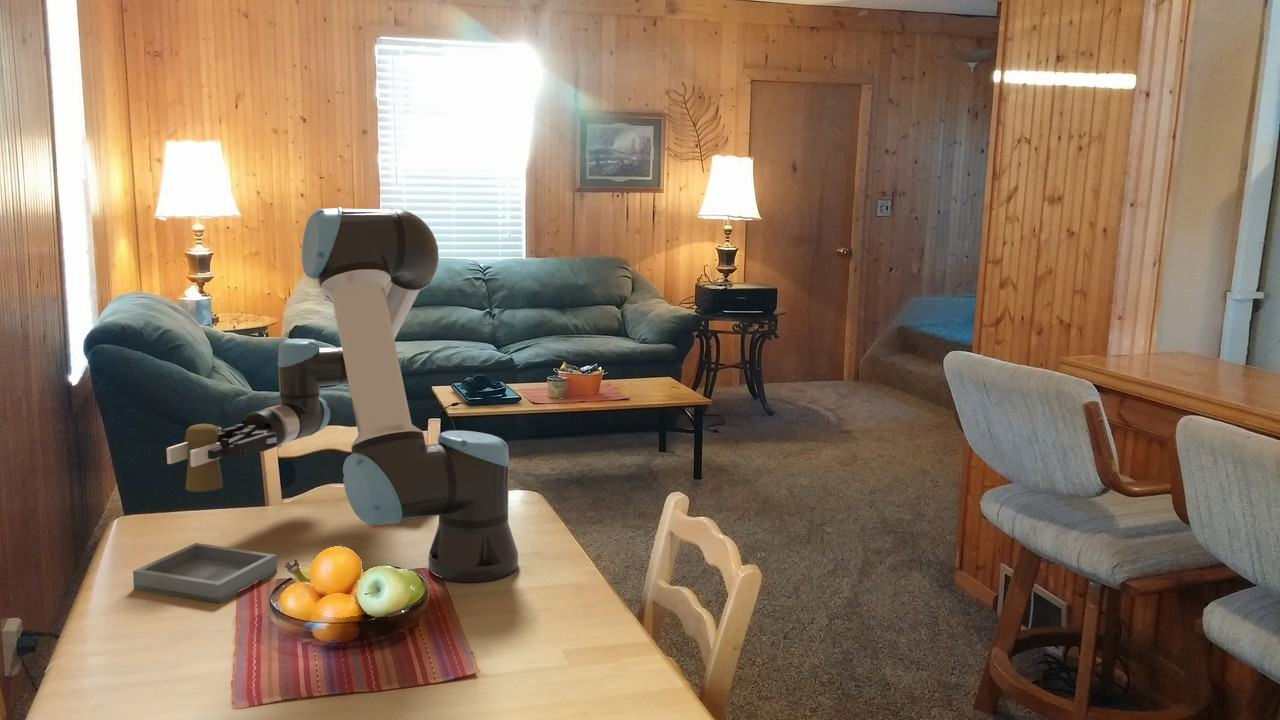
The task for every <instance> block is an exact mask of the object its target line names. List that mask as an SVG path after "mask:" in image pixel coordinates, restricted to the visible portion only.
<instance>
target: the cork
mask: <svg viewBox="0 0 1280 720" xmlns="http://www.w3.org/2000/svg"><path fill="white" fill-rule="evenodd" d="M216 426H217V425H214V424H212V423H197V424H194V425H190V426H189V427H187V429H186V433H185V437H186V440H187V442H188V443H189V444H190V449H189V458H188V459H187V460H188V461H187V469H186V470H187V471H186V479H185V480H186V481H185V490H186V491H188V492H194V493H195V492H196V493H197V492H198V493H199V492H210V491H216V490H219V489H221V488H223V486H224V482H223V477H222V472H221V465H220V460H219V459H216V460H213V461H210V462H207V463H204V464H202V465H199V466H196V467H191V462H190V451H191V450H194V449H197V448H200V447H203V446H207V445H210V444H213V443H216V441H217V440H218V429H217V428H216Z"/></svg>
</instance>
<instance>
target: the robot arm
mask: <svg viewBox="0 0 1280 720" xmlns="http://www.w3.org/2000/svg"><path fill="white" fill-rule="evenodd" d="M438 246H439V245H438V244H437V239H436V237H435V235H434V233H433V232H432V230H431V227H429V226H428V224H427V223H426V222H425V221H424V220H423V219H422V218H420V217H418V215H415V214H414V213H412V212H411V211H407V210H403V209H399V208H389V209H388V208H386V209H385V208H349V207H348V208H347V207H346V208H344V207H343V208H342V207H341V206H338V207H333V208H319V209H317V210H315V211H313V213H311V215H310V216H309V217H308V220H307V222H306V224H305V228H304V233H303V236H302V247H301V259H302V260H301V261H302V262H301V263H302V268H303V271H304V273H305V275H306V277H307V278H310V279H312V280H317V279H318V281H319V287H320V292H321V293H322V294H324V295H325V296H326V297H328V298H329V299H331V300H332V304H333V309H334V310H333V311H334V315H335V319H336V326H337V331H338V336H339V340H340V341H339V342H340V346H339V347H337V346H336V347H320V345H319V342H318V341H317V340H315V339H311V338H291V339H289V338H288V339H284V340H283V341H281V342H280V344H279V345H278V358H277V359H278V361H277V366H278V368H277V369H278V383H279V386H278V389H279V404H276V405H274V406H270V407H266V408H264V409H260V410H258V411H257V410H256V411H254V412H251V413H249V414H247V415H246V416H244V418H243V419H242V421H241V422H240V423H239V424H234V425H233V426H230V427H227V428H221V426H220V425H215V426H216V428H217V429H218V440H217V441H216V443H213V444H210V445H207V446H203V447H200V448H197V449H194V450H191V451H190V462H191V467H196V466H199V465H202V464H204V463H207V462H210V461H213V460H216V459H218V460H219V459H221V458H226V459H227V458H230V457H231V456H233V458H236V459H238V458H241V457H245V456H249V455H250V454H253V453H263V452H266V451H268V450H272V449H275V448H276V447H277V448H282V445H285V444H287V443H290V442H293V441H296V440H298V439H303V438H305V437H306V438H307V437H310V436H312V435H314V434H317V433H318V432H320V431H321V430H324V429H325V428H326V427H327V425H328V424H329V422H330V419H331V409H330V408H329V406H328V403H327V401H326V400H325V399H324V398H322V397H321V396H320V387H324V386H325V387H326V386H335V385H345V384H346V385H348V387H349V393H350V398H351V403H352V408H353V414H354V419H355V424H356V430H357V437H356V438H355V440H354V441H353V442H352V444H351V446H350V449H351V454H349V456H347V457H346V458H345V459H344V463H343V465H342V473H343V475H344V476H343V478H342V480H343V486H344V487H343V488H344V491H345V494H346V497H347V500H348V502H349V504H350V506H351V508H352V510H353V512H354V514H355V515H356V516H357V517H358V518H359V519H360V520H361V521H362V522H363V523H365V524H366V525H370V526H381V525H396V524H399V523H401V522H406V521H411V520H412V521H413V520H417V519H418V520H419V519H423V518H424V519H425V518H431V517H436V516H438V525H437V529H436V531H435V534H434V538H433V540H432V542H431V543H432V544H431V547H430V550H429V553H428V568H427V569H428V570H429V569H430V570H431V571H432V572H434V573H435V574H437V575H439V576H441V577H442V578H443V579H442V578H441V579H442V580H446V581H451V582H457V583H483V582H489V581H495V580H499V579H502V578H505V577H507V576H509V575H508V574H510V573H511V572H513V571H514V570H515V569H516V568H517V569H518V567H519V553H518V549H517V545H516V542H515V540H514V537H513V534H512V530H511V528H510V525H509V491H510V489H509V483H510V481H509V480H510V477H509V476H510V475H509V474H510V472H509V471H510V470H509V469H510V466H511V463H510V458H509V457H510V456H509V455H510V454H509V447H508V444H507V442H506V441H505V440H504V439H503V438H501V437H499V436H496V435H494V434H490V433H485V432H479V431H478V432H477V431H472V430H471V431H470V430H445V431H442V432H441V433H439V435H438V437H437V442H438V443H435V444H426V440H425V435H424V432H423V430H421V429H420V428H418V427H417V426H415V425H414V424H413V423H412V419H411V414H410V409H409V403H408V400H407V395H406V390H405V384H404V380H403V375H402V370H401V365H400V360H399V355H398V351H397V350H398V349H397V347H396V342H395V341H396V338H397V335H398V334H399V332H400V329H402V328H401V327H402V326H403V324H404V322H405V320H406V319H407V316H408V314H409V313H410V310H411V309H412V307H413V305H414V303H415V301H416V299H417V297H418V295H419V294H420V291H422V290H424V289H426V288H427V287H428V286H429V285H430V283H431V282H432V281H433V278H434V276H435V274H436V272H437V269H438V265H439V247H438ZM183 440H184V442H182V443H179V444H175V445H173V446H169V447H167V448H166V464H167V465H172V464H173V465H174V464H175V463H178V462H181V461H184V460H188V459H189V449H190V444H189V443H188V442H187V440H186V436H184V439H183ZM517 566H518V567H517ZM517 569H516V570H517ZM516 570H515V571H516ZM515 571H514V572H515ZM514 572H513V573H514ZM511 574H512V573H511ZM511 574H510V575H511ZM506 575H507V576H506ZM504 576H505V577H504ZM501 577H502V578H501ZM498 578H499V579H498Z"/></svg>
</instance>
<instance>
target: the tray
mask: <svg viewBox="0 0 1280 720" xmlns="http://www.w3.org/2000/svg"><path fill="white" fill-rule="evenodd" d="M277 557H278V556H277V554H275V553H274V554H272V553H268V552H267V553H266V552H258V551H252V550H248V549H247V550H246V549H239V548H232V547H226V546H220V545H219V546H218V545H214V544H213V545H212V544H205V543H199V542H194V543H192V544H190V545H187V546H185V547H183V548H181V549H179V550H176V551H175V552H174V551H173V552H172V553H170V554H167V555H165V556H164V557H160V558H159V559H157V560H155V561H152V562H150V563H148V564H146V565H142V566H141V567H139V568H136V569H135V570H133V571H132V574H133V575H132V576H133V577H132V578H133V590H136V591H143V592H149V593H155V594H160V595H166V596H173V597H177V598H185V599H188V600H189V599H191V600H196V601H201V602H208V603H214V604H221V603H224V602H225V601H226V600H228V599H231V598H232V597H234V596H236V595H238V594H239V593H238V591H240V590H241V589H243V588H245V587H248V586H249V585H251V584H253V583H254V582H256V581H258V580H262V581H264V580H265V579H267V578H269V577H271V576H273V575H274V574H276V573H277V572H278V569H277V568H278V566H277V565H278V563H277ZM237 593H238V594H237Z"/></svg>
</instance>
